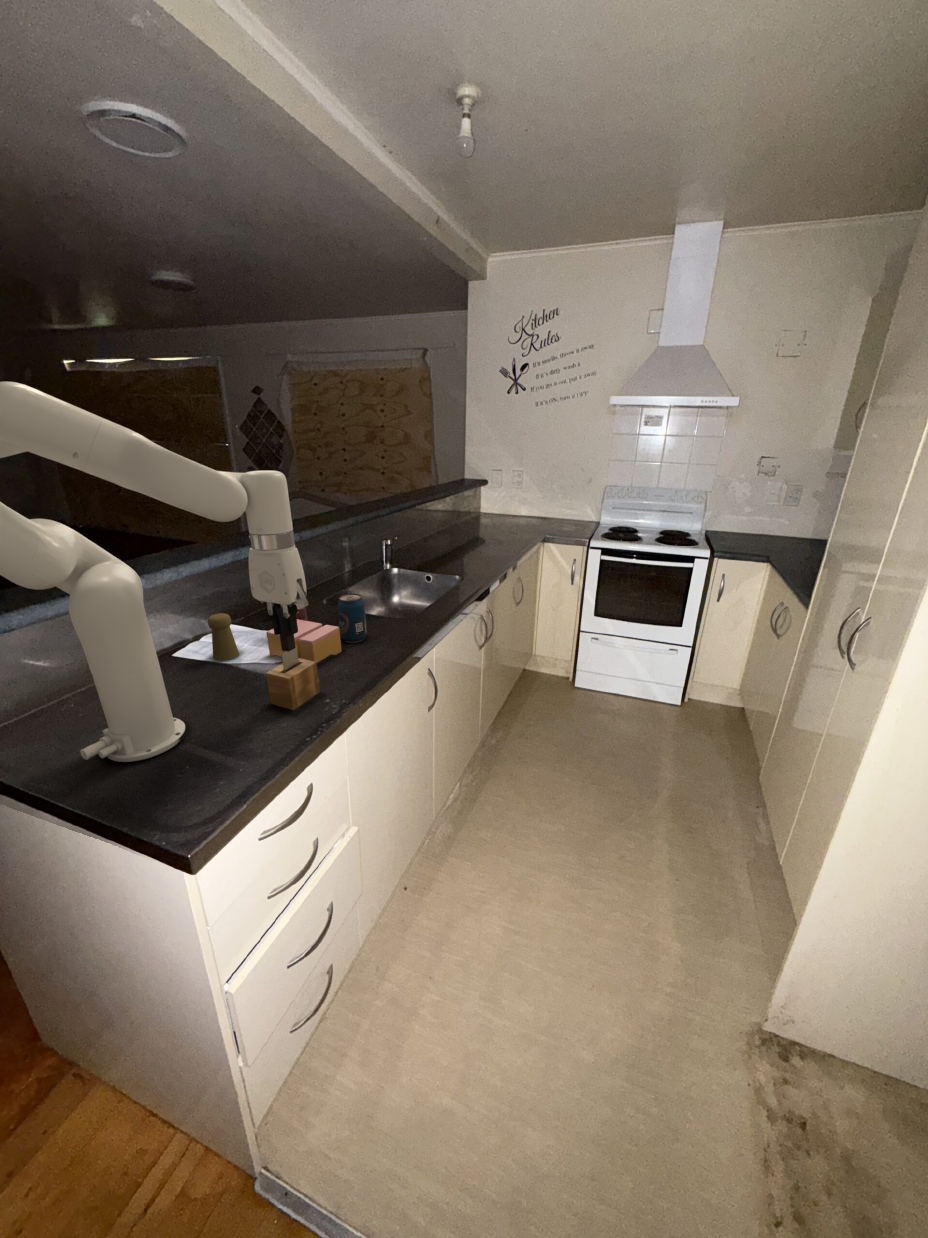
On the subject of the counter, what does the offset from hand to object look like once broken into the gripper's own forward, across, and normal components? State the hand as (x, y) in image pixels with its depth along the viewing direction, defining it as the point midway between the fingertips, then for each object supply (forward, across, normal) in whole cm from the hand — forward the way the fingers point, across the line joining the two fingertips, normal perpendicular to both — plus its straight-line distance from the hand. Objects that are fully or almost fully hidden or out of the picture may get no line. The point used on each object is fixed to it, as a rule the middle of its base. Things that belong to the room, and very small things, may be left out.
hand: (286, 632), depth 95 cm
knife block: (+16, 0, 0) cm, 16 cm away
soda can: (+16, -9, +32) cm, 37 cm away
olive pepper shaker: (+16, -32, +10) cm, 37 cm away
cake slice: (+16, -9, +19) cm, 26 cm away
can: (+16, -27, +30) cm, 43 cm away
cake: (+16, -17, +19) cm, 30 cm away
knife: (+15, 0, 0) cm, 15 cm away
